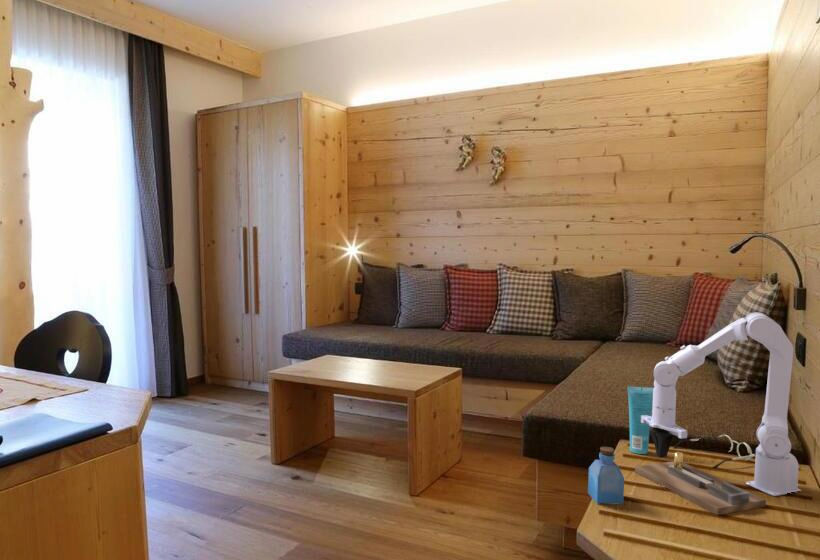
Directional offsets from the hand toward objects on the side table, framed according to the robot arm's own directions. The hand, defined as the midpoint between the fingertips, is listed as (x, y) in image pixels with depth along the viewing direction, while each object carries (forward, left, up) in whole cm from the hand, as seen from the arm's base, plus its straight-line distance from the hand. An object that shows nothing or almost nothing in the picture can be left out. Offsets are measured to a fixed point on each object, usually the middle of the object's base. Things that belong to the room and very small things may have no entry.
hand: (661, 456), depth 155 cm
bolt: (0, +10, -2) cm, 10 cm away
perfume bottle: (+26, +10, -4) cm, 28 cm away
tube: (-5, -14, -4) cm, 15 cm away
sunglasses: (-23, -4, -5) cm, 24 cm away
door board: (0, +12, -4) cm, 12 cm away
